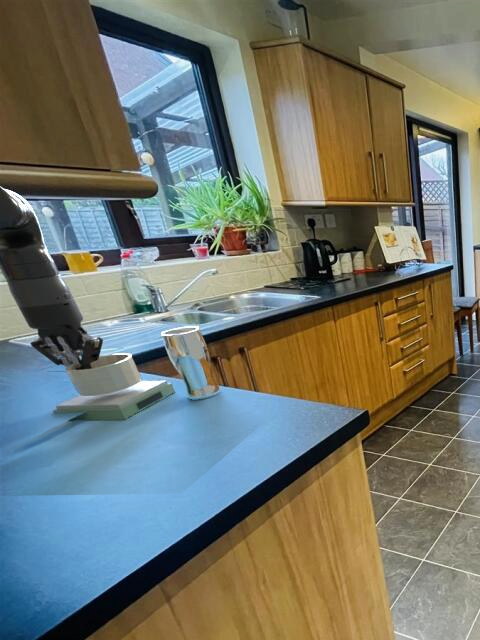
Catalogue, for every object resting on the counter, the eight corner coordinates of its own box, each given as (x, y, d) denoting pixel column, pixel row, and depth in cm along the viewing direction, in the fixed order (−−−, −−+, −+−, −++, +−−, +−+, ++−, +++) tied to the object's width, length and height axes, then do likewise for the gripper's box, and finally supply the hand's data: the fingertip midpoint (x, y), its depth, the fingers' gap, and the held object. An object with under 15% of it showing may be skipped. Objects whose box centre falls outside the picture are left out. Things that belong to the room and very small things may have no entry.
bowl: (64, 396, 81) (50, 371, 78) (110, 377, 90) (99, 354, 87) (112, 395, 80) (99, 370, 78) (153, 376, 89) (143, 352, 87)
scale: (58, 421, 81) (50, 407, 80) (116, 393, 93) (110, 380, 92) (125, 419, 81) (119, 405, 79) (176, 392, 93) (171, 379, 91)
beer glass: (199, 402, 87) (173, 336, 81) (178, 398, 89) (151, 334, 83) (229, 389, 93) (207, 327, 87) (209, 386, 95) (186, 325, 89)
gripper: (-11, 306, 74) (37, 390, 81) (59, 304, 74) (101, 389, 81) (34, 297, 81) (75, 376, 88) (97, 295, 81) (134, 374, 88)
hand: (87, 382), depth 85 cm, fingers closed on bowl, 1 cm apart
